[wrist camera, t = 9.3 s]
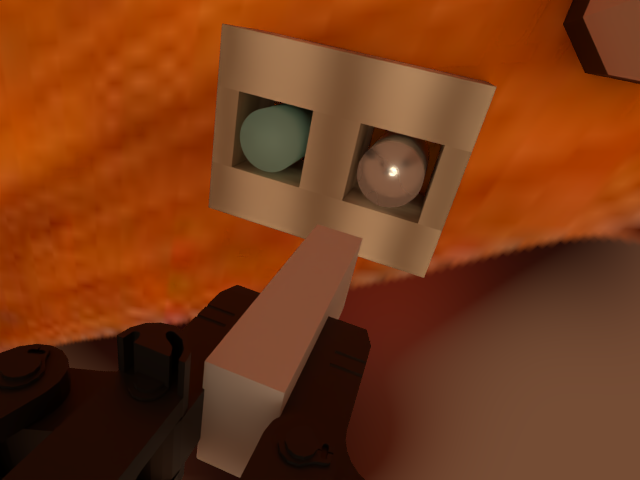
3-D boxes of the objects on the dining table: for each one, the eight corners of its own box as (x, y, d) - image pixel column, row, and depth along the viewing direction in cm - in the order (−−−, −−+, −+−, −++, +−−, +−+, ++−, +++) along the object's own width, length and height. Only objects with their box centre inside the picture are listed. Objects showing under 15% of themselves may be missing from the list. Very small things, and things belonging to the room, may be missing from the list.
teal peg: (271, 146, 32) (237, 162, 27) (279, 94, 30) (243, 101, 25) (318, 160, 31) (292, 179, 26) (329, 107, 29) (302, 117, 24)
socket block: (246, 185, 34) (208, 207, 29) (264, 30, 29) (222, 23, 23) (429, 241, 31) (423, 277, 26) (488, 82, 26) (496, 87, 21)
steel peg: (367, 174, 30) (350, 197, 25) (381, 121, 28) (365, 134, 23) (419, 189, 29) (412, 215, 24) (437, 136, 28) (433, 152, 23)
